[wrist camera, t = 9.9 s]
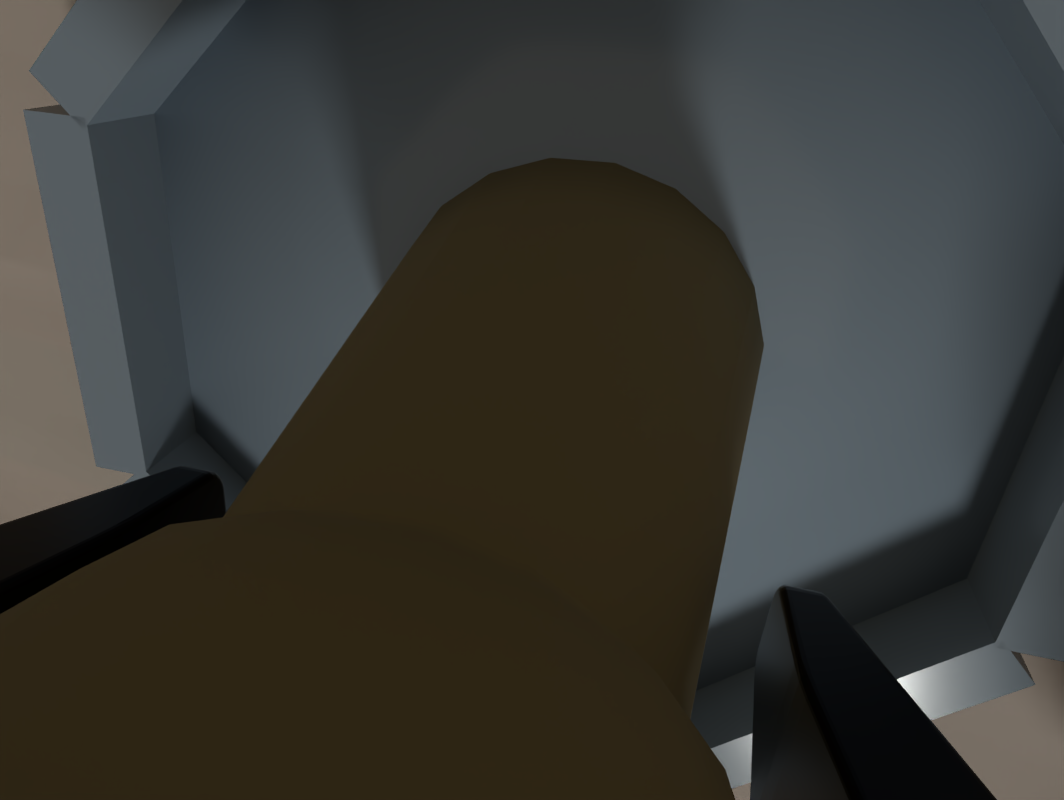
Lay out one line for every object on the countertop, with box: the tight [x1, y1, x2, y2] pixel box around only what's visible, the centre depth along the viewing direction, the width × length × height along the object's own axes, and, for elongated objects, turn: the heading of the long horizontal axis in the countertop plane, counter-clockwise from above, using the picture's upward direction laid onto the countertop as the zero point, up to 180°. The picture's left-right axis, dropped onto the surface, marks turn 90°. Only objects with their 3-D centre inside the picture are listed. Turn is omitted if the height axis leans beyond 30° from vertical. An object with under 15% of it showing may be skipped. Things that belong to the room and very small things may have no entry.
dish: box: [23, 0, 1064, 788], centre depth 12 cm, size 16×16×2 cm
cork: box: [0, 158, 764, 800], centre depth 8 cm, size 6×6×11 cm
